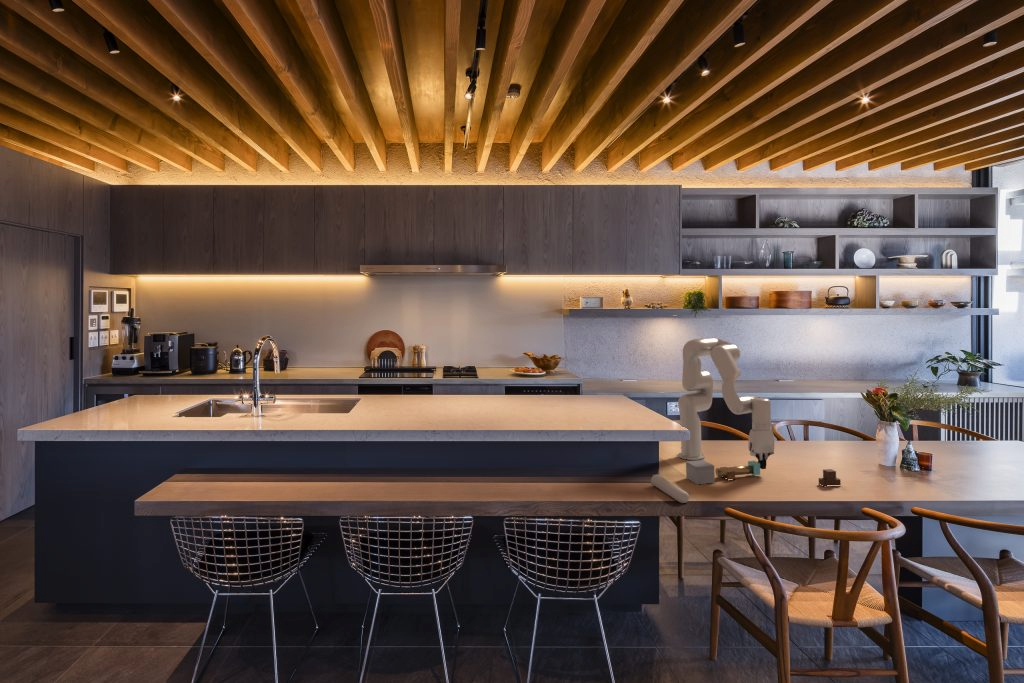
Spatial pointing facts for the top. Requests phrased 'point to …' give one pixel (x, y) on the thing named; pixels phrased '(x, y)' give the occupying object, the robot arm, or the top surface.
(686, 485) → the top surface
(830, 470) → the wooden blocks
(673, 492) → the tube
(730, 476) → the guide block
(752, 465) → the bronze piece
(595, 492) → the top surface
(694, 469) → the socket block
